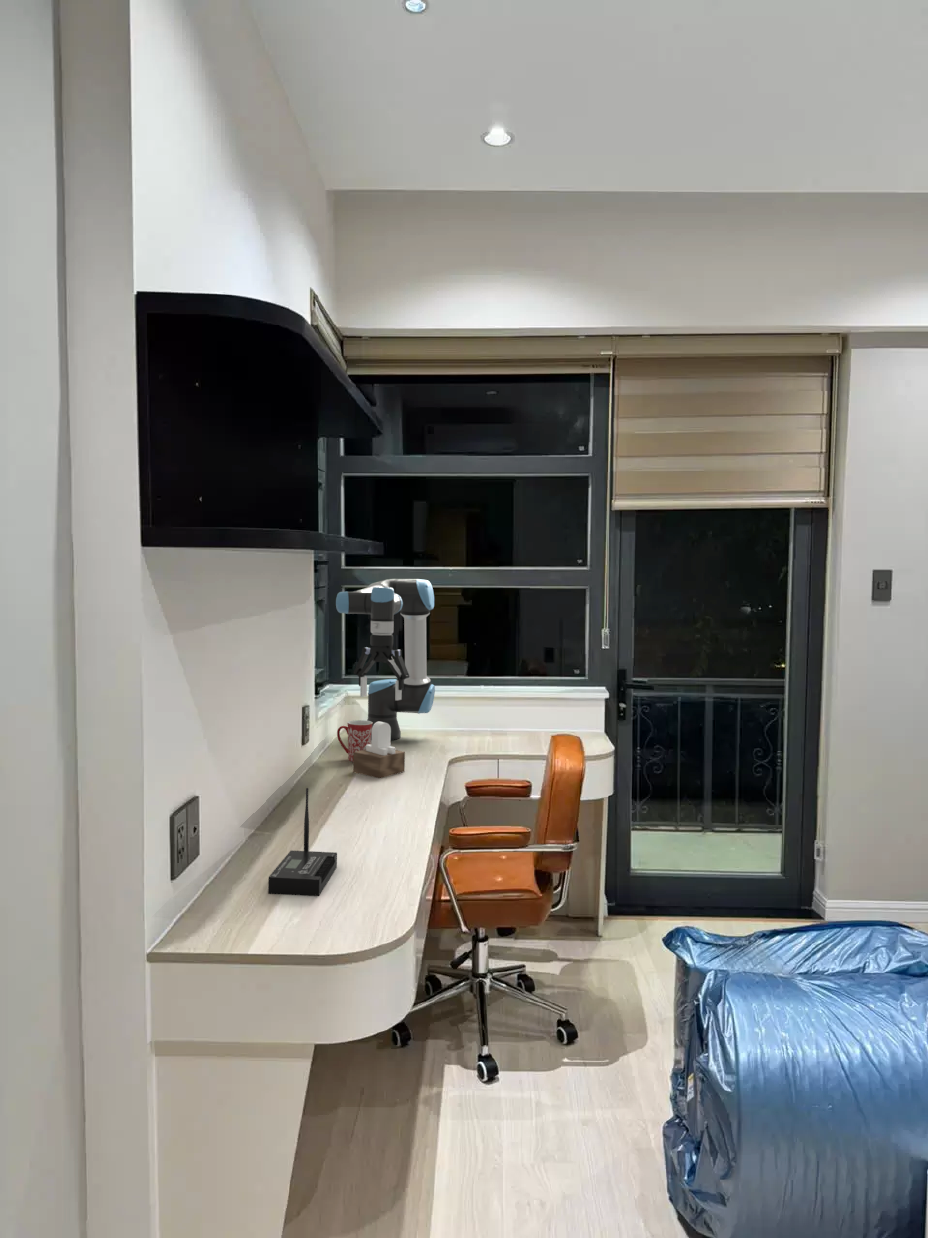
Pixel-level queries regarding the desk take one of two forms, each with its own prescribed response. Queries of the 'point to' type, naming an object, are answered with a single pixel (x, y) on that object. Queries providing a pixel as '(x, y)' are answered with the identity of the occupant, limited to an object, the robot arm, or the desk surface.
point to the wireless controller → (303, 869)
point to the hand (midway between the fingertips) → (380, 698)
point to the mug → (356, 736)
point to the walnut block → (378, 763)
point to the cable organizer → (381, 739)
